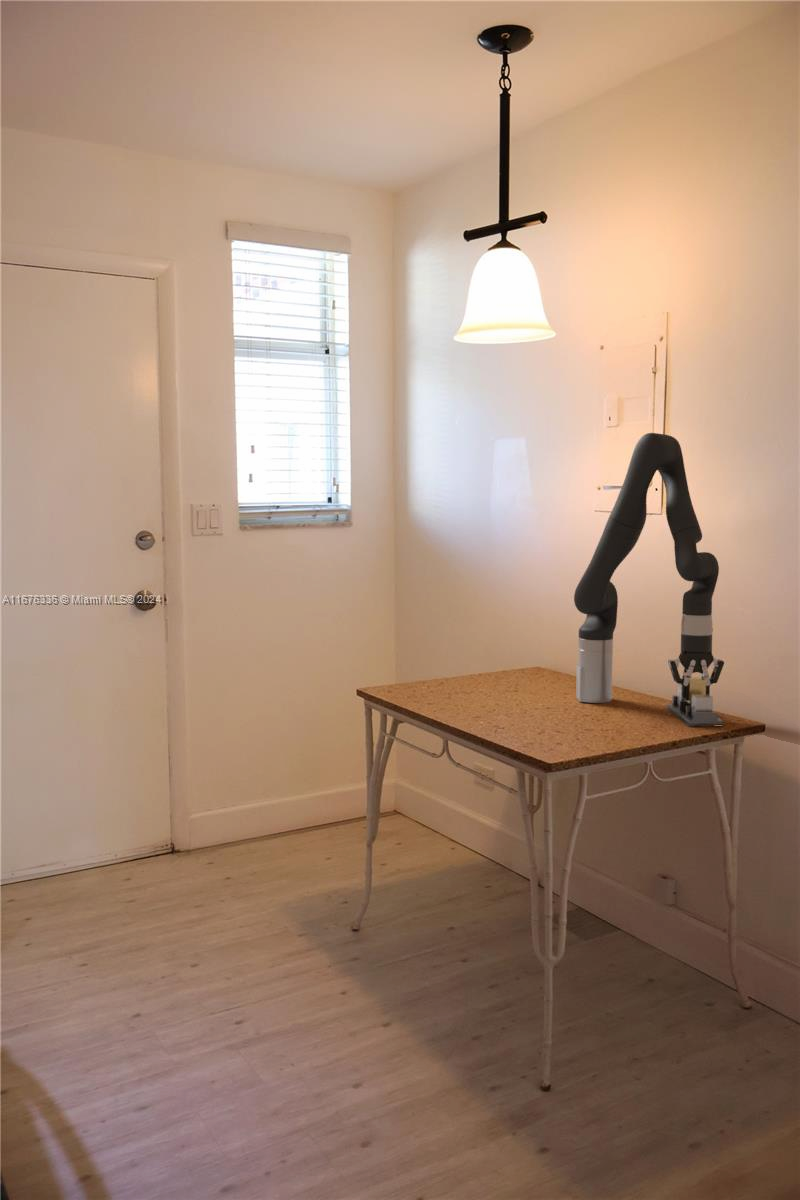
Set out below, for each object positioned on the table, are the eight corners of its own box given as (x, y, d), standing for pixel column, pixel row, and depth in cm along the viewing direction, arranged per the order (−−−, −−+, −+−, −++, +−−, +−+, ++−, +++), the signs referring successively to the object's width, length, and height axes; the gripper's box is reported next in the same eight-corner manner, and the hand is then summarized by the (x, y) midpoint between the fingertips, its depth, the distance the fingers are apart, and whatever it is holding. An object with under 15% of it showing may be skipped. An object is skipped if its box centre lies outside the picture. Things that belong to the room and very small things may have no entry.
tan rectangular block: (685, 700, 251) (685, 677, 250) (700, 700, 251) (701, 677, 250) (689, 703, 247) (689, 679, 246) (705, 703, 247) (706, 679, 246)
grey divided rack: (689, 726, 239) (690, 699, 238) (667, 708, 260) (668, 683, 259) (722, 726, 239) (723, 699, 238) (697, 708, 260) (698, 683, 259)
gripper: (720, 630, 251) (718, 696, 253) (664, 630, 251) (663, 697, 253) (730, 634, 243) (728, 702, 245) (672, 634, 244) (670, 703, 245)
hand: (695, 699), depth 249 cm, fingers closed on tan rectangular block, 4 cm apart
